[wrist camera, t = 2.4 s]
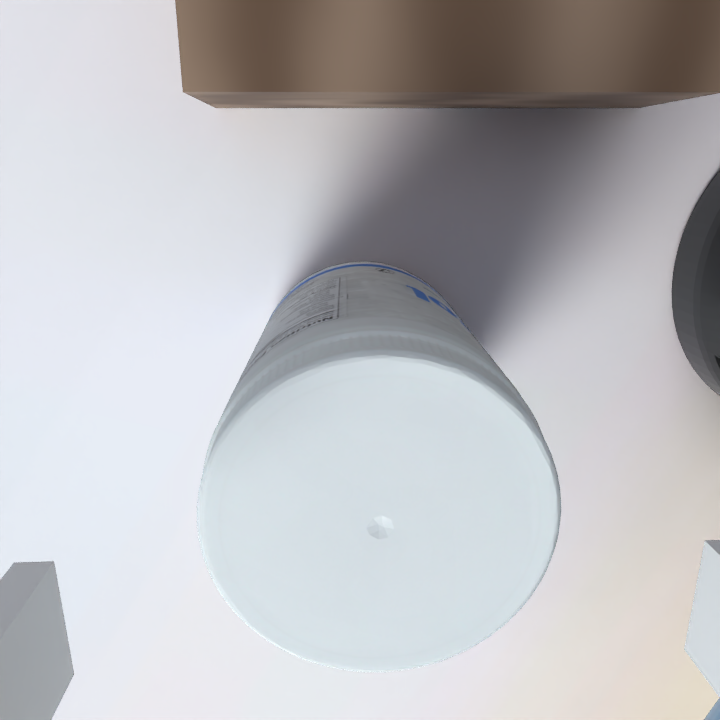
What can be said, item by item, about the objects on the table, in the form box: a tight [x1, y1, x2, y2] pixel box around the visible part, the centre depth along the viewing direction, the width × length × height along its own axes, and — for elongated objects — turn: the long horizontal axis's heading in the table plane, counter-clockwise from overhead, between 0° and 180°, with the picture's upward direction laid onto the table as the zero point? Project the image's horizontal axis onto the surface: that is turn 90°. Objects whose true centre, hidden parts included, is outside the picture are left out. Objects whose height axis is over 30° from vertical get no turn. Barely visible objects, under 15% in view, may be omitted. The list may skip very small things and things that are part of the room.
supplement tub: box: [197, 262, 561, 672], centre depth 23 cm, size 10×10×15 cm
